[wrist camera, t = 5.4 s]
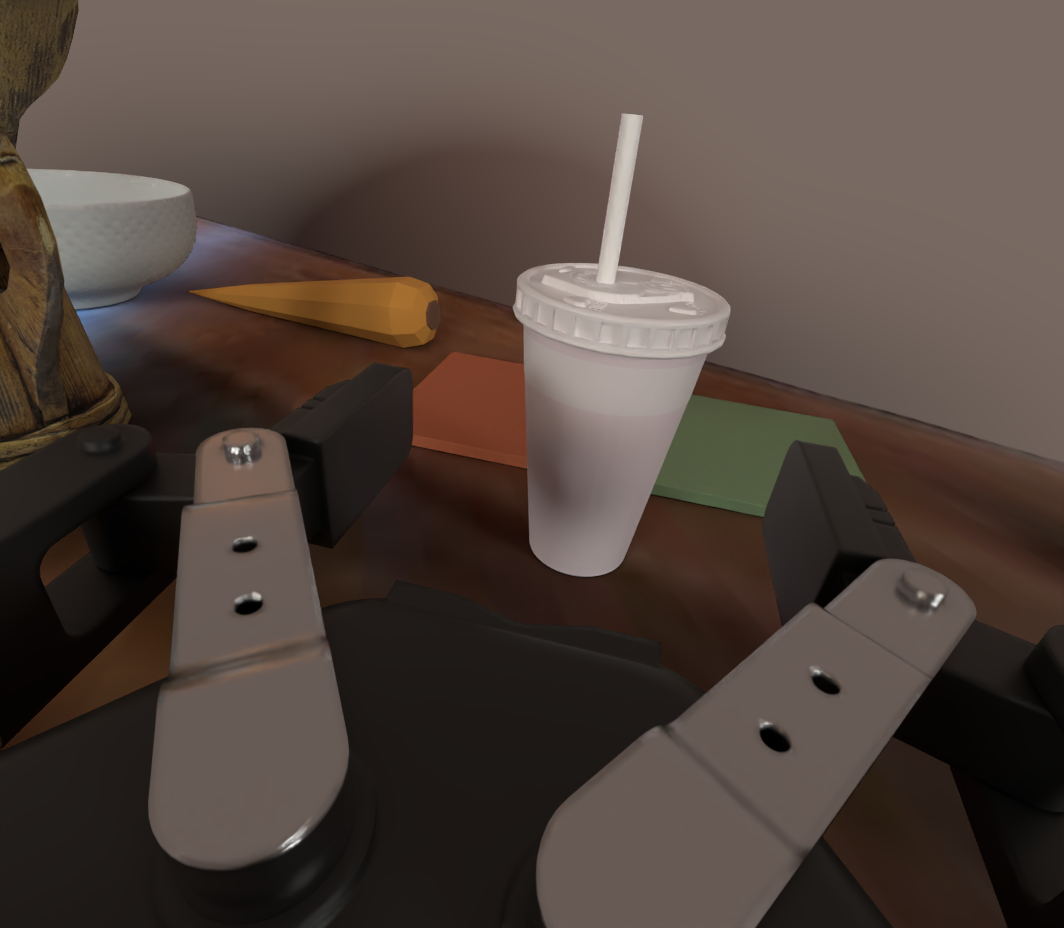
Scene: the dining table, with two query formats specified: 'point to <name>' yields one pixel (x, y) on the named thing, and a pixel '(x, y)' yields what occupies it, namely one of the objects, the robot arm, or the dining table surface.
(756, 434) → the green mat
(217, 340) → the dining table surface
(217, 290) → the carrot
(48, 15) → the wooden mug
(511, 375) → the terracotta mat
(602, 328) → the smoothie
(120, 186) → the cereal bowl
